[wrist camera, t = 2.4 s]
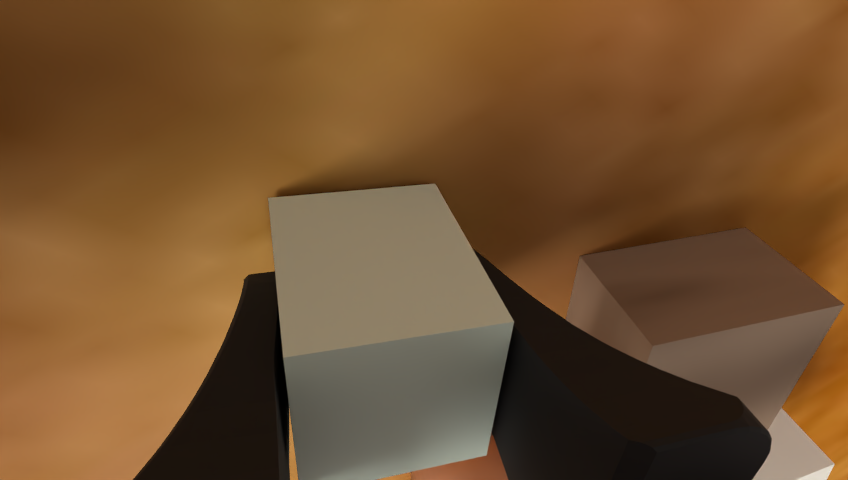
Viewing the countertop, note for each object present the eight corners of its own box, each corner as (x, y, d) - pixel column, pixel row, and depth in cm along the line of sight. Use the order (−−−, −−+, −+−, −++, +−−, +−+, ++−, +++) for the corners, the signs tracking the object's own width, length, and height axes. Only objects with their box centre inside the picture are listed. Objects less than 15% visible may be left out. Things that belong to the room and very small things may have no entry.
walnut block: (688, 350, 22) (763, 435, 19) (548, 381, 21) (605, 479, 18) (741, 224, 18) (844, 304, 15) (576, 252, 17) (652, 345, 14)
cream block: (718, 411, 25) (807, 517, 21) (639, 442, 25) (713, 555, 21) (732, 356, 23) (834, 463, 19) (643, 389, 23) (728, 506, 19)
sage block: (425, 304, 16) (486, 455, 12) (283, 325, 15) (300, 495, 11) (435, 183, 14) (514, 321, 10) (267, 197, 13) (283, 357, 9)
